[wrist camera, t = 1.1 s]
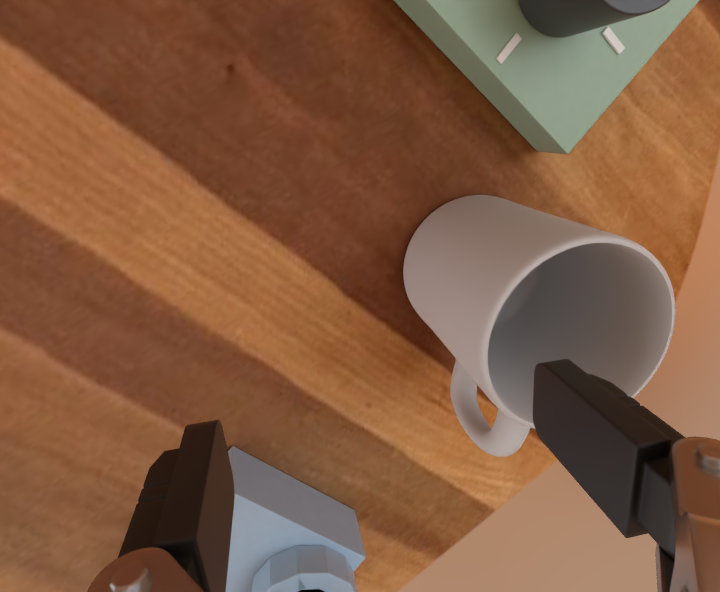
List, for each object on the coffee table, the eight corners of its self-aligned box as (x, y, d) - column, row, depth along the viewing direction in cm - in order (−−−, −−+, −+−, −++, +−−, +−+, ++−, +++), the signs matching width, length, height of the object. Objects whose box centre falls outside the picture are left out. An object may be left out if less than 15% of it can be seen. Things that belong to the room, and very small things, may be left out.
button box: (364, 514, 34) (383, 591, 28) (277, 611, 35) (280, 702, 30) (232, 445, 30) (225, 517, 24) (141, 556, 31) (115, 648, 26)
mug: (421, 179, 27) (519, 213, 17) (554, 208, 29) (713, 253, 19) (374, 372, 30) (430, 498, 20) (495, 385, 32) (603, 506, 22)
